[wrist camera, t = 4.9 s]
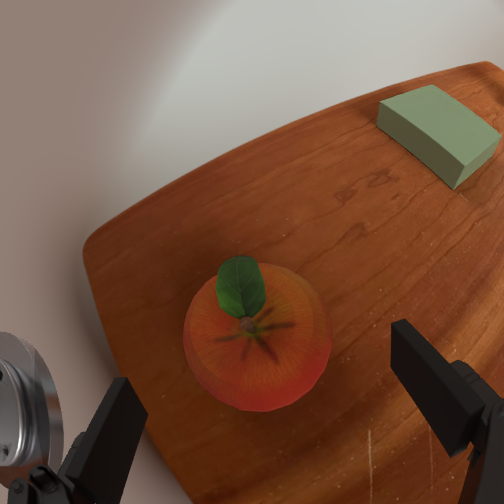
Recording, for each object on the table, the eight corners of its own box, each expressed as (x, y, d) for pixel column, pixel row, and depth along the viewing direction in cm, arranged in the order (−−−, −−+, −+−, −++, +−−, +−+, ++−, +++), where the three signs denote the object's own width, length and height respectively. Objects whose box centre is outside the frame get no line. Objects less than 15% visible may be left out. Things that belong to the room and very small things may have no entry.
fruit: (210, 415, 20) (151, 420, 11) (200, 302, 25) (150, 242, 16) (336, 398, 19) (368, 394, 11) (313, 284, 24) (321, 210, 15)
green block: (452, 190, 27) (465, 166, 23) (375, 126, 33) (379, 101, 29) (492, 156, 29) (502, 135, 25) (427, 104, 35) (432, 84, 31)
